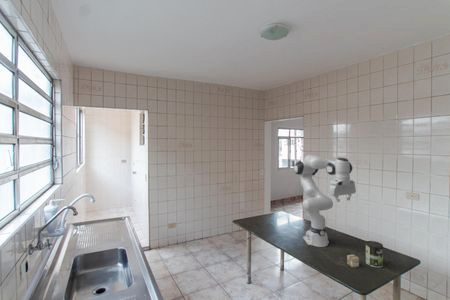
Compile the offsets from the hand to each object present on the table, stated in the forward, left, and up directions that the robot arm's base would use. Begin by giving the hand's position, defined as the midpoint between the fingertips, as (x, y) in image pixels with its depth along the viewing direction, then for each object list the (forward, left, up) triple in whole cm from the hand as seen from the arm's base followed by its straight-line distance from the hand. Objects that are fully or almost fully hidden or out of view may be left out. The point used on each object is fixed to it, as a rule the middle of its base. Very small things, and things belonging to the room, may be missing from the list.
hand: (343, 200), depth 166 cm
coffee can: (+6, +19, -44) cm, 48 cm away
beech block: (+5, +4, -44) cm, 44 cm away
